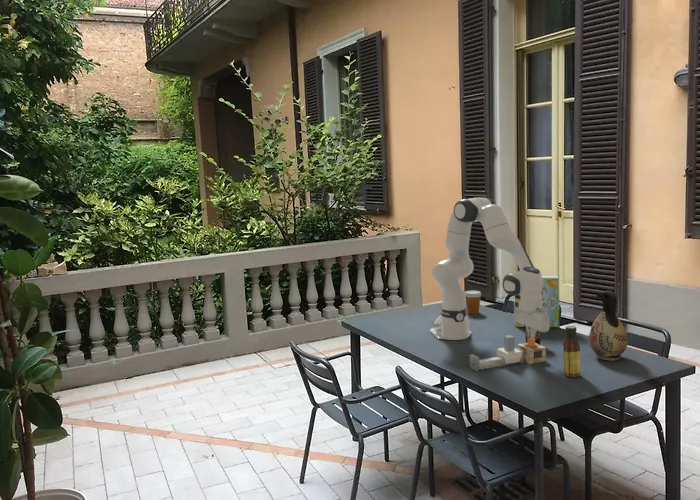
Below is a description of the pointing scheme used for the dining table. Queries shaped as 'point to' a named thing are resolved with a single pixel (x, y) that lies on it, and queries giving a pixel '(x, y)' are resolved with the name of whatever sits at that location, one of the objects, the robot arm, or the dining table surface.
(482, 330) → the dining table surface
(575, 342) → the sauce bottle
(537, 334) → the coffee cup
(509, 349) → the carriage
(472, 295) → the disposable coffee cup
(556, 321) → the snack box
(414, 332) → the dining table surface
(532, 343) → the button
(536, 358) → the cabinet
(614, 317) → the ceramic jug
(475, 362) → the rail
